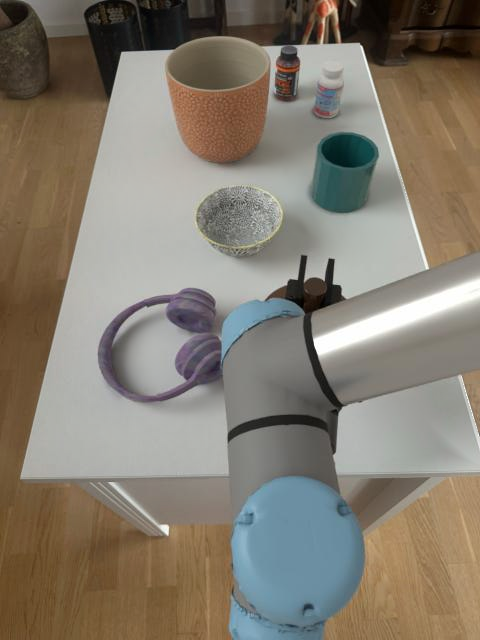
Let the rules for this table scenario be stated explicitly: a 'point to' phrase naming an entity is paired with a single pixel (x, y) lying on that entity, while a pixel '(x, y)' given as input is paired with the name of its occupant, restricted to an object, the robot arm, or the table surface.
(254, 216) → the bowl
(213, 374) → the headphones
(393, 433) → the table surface
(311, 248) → the table surface
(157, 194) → the table surface
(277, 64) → the supplement bottle
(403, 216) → the table surface
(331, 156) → the storage jar
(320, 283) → the jar lid
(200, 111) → the planter
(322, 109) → the pill bottle
